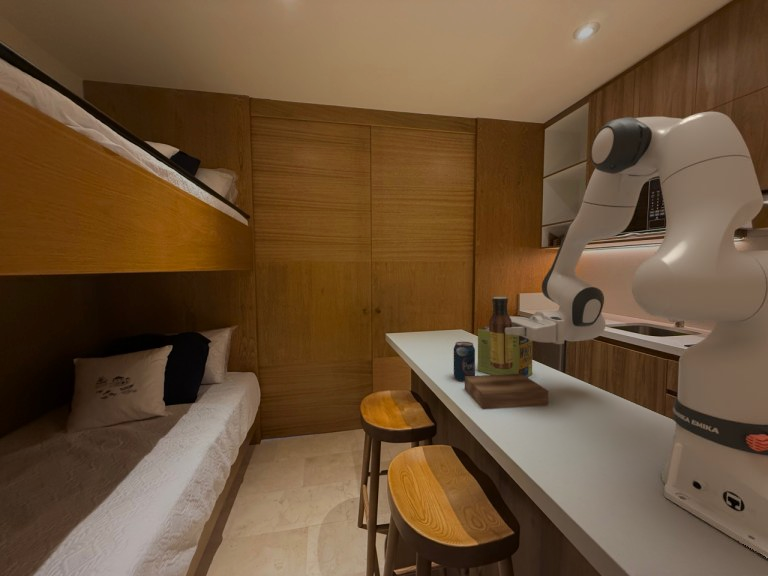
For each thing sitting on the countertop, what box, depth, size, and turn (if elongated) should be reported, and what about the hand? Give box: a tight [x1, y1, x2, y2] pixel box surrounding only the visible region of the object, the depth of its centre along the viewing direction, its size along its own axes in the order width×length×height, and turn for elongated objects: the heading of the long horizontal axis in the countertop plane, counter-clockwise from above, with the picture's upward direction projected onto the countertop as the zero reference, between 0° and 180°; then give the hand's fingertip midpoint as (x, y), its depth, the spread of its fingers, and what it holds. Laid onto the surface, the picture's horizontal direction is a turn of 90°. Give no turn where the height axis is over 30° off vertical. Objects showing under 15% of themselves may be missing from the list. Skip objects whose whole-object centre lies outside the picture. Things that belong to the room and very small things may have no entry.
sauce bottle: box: [488, 296, 513, 369], centre depth 90 cm, size 7×6×20 cm
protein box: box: [477, 326, 533, 378], centre depth 112 cm, size 10×15×16 cm
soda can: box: [453, 341, 476, 383], centre depth 107 cm, size 7×7×12 cm
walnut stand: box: [464, 374, 549, 410], centre depth 92 cm, size 14×18×4 cm
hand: (498, 328), depth 90 cm, fingers closed on sauce bottle, 6 cm apart
